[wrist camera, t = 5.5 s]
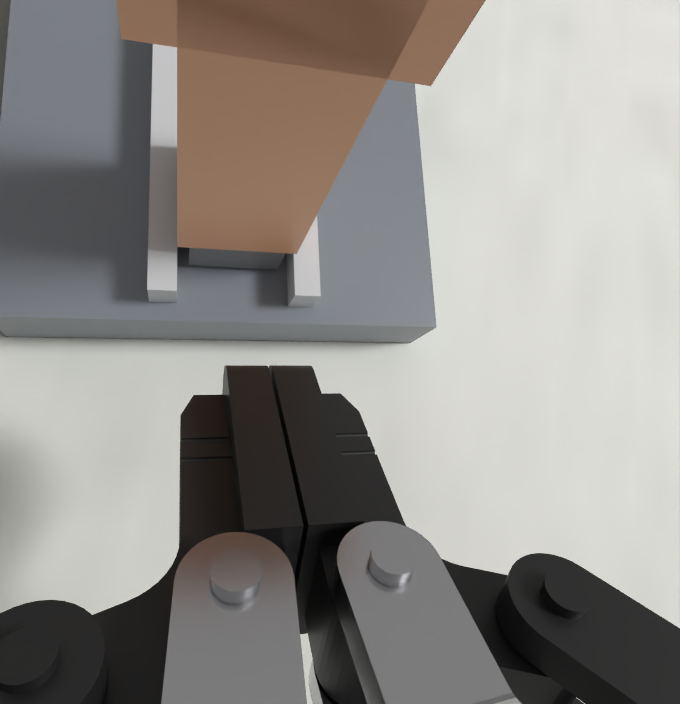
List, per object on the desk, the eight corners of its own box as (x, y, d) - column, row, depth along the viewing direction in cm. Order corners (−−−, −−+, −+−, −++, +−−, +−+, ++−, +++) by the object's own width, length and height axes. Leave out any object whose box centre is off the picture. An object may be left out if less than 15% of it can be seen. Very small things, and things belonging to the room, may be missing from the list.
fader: (149, 263, 15) (104, -93, 6) (151, 160, 16) (114, -311, 6) (312, 271, 16) (492, -12, 7) (308, 175, 17) (468, -201, 8)
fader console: (6, 336, 16) (-32, 303, 13) (42, -127, 19) (18, -233, 16) (410, 342, 19) (451, 318, 16) (379, -53, 22) (408, -130, 19)
